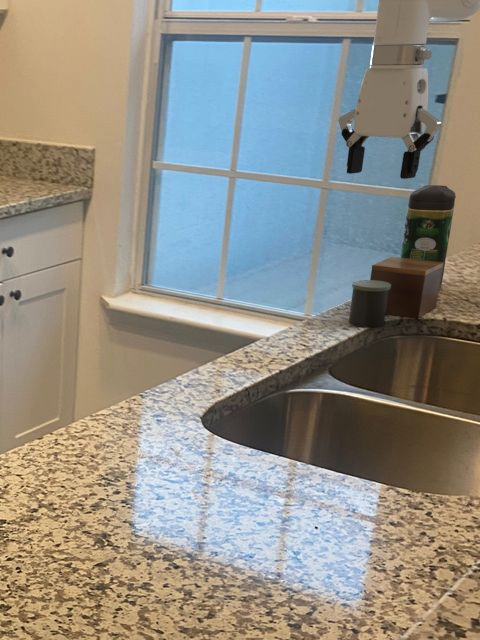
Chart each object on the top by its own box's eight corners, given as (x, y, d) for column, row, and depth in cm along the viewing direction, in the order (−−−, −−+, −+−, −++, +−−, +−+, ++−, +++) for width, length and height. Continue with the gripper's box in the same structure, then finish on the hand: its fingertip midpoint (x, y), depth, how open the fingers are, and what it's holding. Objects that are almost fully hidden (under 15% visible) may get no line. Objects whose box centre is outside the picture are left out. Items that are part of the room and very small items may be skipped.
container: (373, 317, 175) (379, 279, 172) (392, 326, 169) (398, 286, 167) (340, 320, 174) (345, 281, 171) (358, 328, 169) (363, 288, 166)
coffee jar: (398, 281, 200) (413, 182, 192) (442, 284, 197) (459, 183, 189) (392, 291, 192) (408, 188, 184) (438, 294, 189) (456, 190, 181)
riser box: (384, 301, 185) (391, 256, 182) (436, 308, 180) (443, 262, 177) (365, 311, 179) (372, 265, 176) (418, 318, 174) (425, 270, 170)
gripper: (464, 57, 152) (443, 178, 159) (363, 58, 165) (348, 169, 172) (435, 58, 148) (415, 182, 155) (333, 58, 161) (319, 172, 168)
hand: (380, 175), depth 163 cm, fingers open, 9 cm apart
